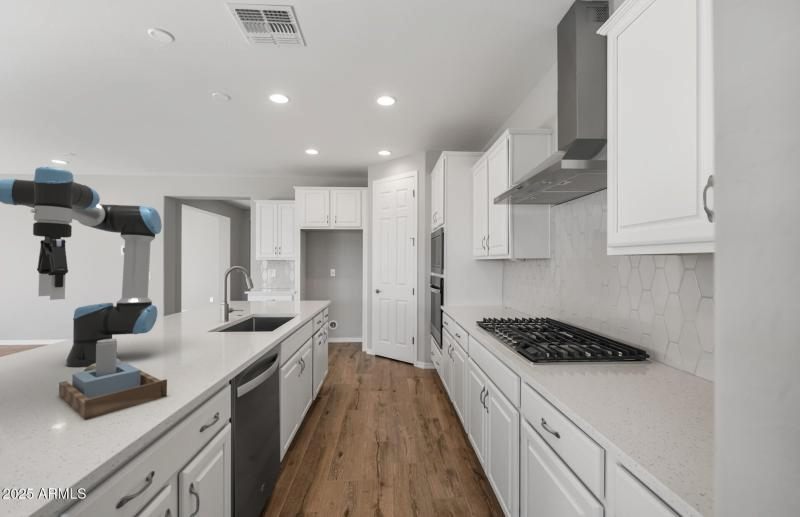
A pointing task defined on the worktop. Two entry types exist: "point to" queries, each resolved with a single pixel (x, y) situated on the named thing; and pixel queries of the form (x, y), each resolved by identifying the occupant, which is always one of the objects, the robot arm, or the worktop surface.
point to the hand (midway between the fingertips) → (51, 297)
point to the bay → (113, 397)
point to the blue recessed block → (106, 381)
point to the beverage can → (106, 357)
